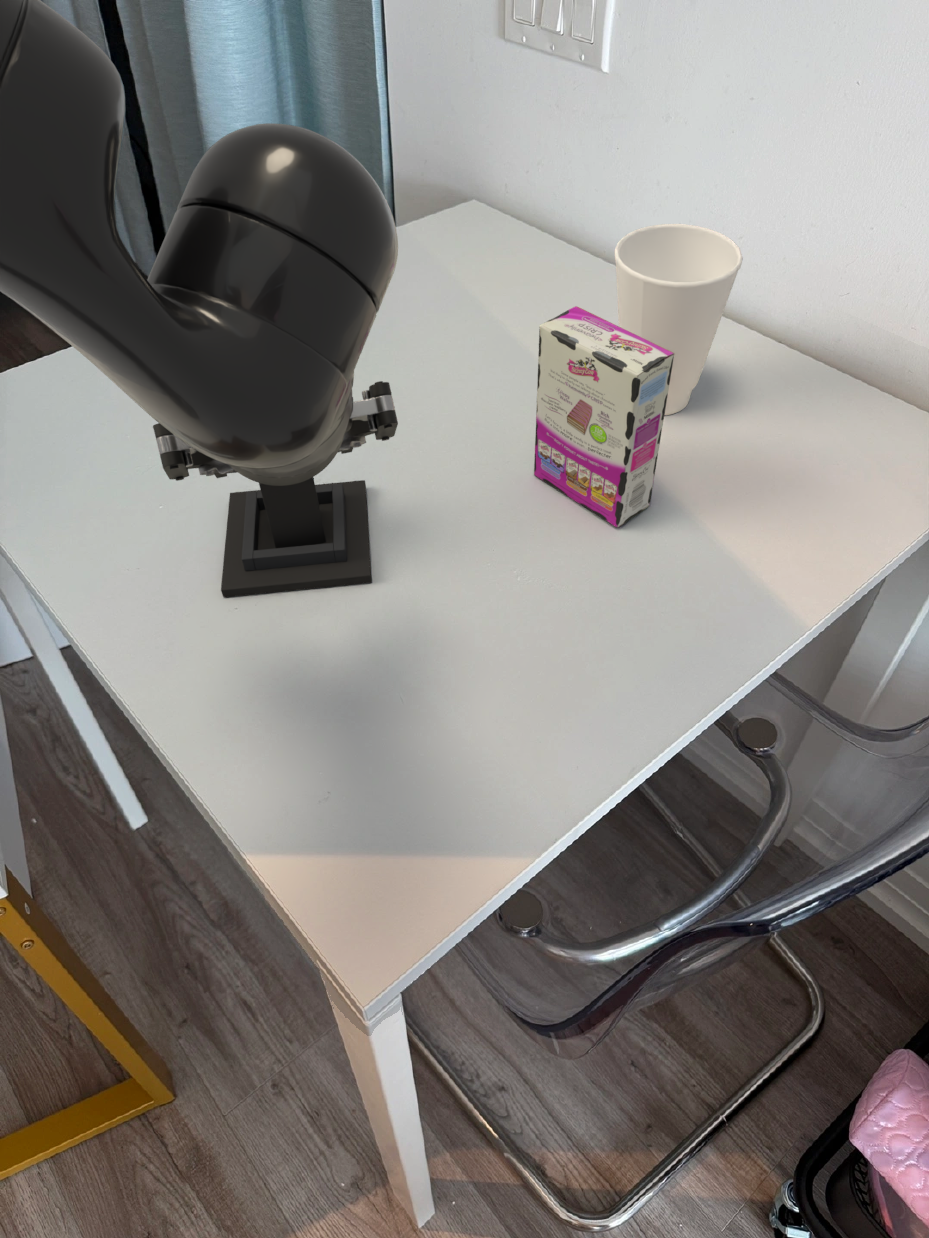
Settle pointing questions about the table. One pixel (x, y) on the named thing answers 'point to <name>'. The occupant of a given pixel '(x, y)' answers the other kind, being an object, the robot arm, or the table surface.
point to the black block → (293, 514)
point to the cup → (676, 294)
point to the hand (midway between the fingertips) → (281, 450)
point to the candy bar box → (599, 413)
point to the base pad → (302, 567)
